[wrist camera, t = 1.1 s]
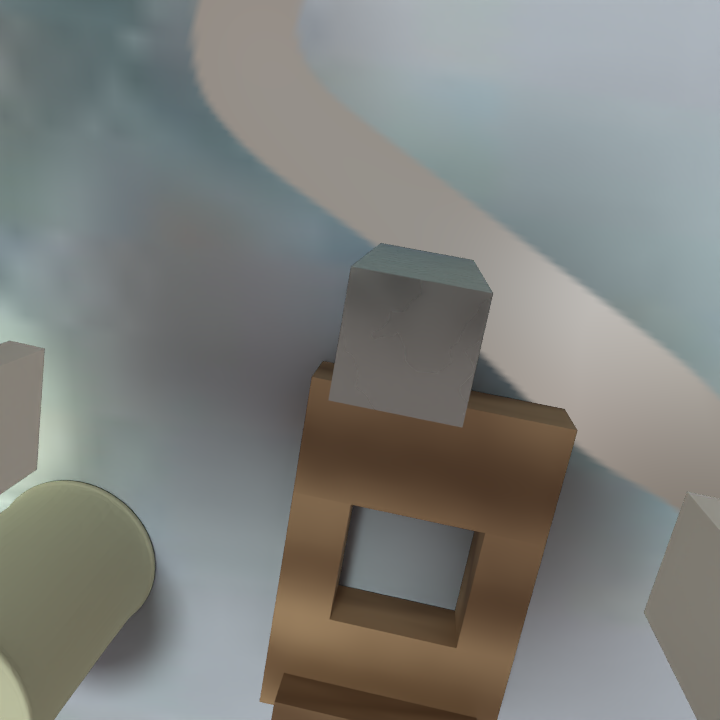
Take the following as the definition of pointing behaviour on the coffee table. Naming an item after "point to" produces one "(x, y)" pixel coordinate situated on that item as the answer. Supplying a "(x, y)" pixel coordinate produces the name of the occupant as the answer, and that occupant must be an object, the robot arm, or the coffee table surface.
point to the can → (64, 590)
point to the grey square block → (411, 334)
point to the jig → (426, 502)
